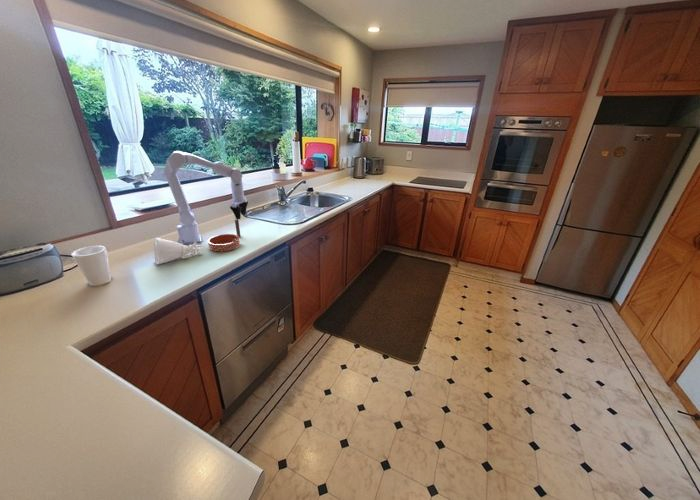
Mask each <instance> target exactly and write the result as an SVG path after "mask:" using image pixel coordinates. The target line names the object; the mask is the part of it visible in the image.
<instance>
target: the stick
mask: <svg viewBox="0 0 700 500" xmlns="http://www.w3.org/2000/svg"><path fill="white" fill-rule="evenodd" d="M239 222H240V221H239V219H236V218H235V219H234V224H235V232H236V235H237V236H238V237H239V238H241V237H242V236H241V229H240V223H239Z"/></svg>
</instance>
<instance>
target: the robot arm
mask: <svg viewBox="0 0 700 500" xmlns="http://www.w3.org/2000/svg"><path fill="white" fill-rule="evenodd" d="M186 164H187V165H188V166H189V165H194V164H195V165H198V166H201V167H204V168H207V169H211V170H212V171H213V173H214V174H216V175H219V176H223V177H226V178H230V189H231V193H232V194H231V196H232V202H231V205H230V206H229V208H230V210H231V211H232V212H233V215H234V217H235V219H238V220H241V219H242V218H241V217H242V216H246V215H247V214H246V213H247V208H248V204H249V200H247V197H246V196H245V192H244V185H243V179H242V178H243V173H242V172H241V170H240V169H239V168H237V167H236V166H235V167H234V166H233V165H228V164H225V163H224V162H223V161H221V160H220V161H215V162H212V161H210V160H208V159H205V158H203V157H200V156H197V155H195V154H192V153H189V152H184V151H182V150H174V151H173V152H172V153H171V154H170V155H169V156H168V158H167V159H166V162H165V165H164V169H163V173H164V177H165V178H166V181H167V183H168V186H169V188H170V191H171V194H172V196H173V199H174V201H175V203H176V207H177V210H178V214H179V222H180V224H179V225H176V230H177V233H178V241H179V243H180V244H183V245H188V244H194V242H197V243H200V242H202V238H201V235H200V232H199V226H198V222H197V221H196V220H195V219H196V214H195V212H194V211H193V210H192V209H191V206H190V205H189V203H188V202H189V201H188V200H187V198H186V195H185V192H184V190H183V186H182V184H181V182H180V179H179V176H178V171H179V170H180V169H181V168H183V167H184V166H185V165H186Z"/></svg>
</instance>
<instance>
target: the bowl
mask: <svg viewBox="0 0 700 500" xmlns="http://www.w3.org/2000/svg"><path fill="white" fill-rule="evenodd" d="M207 244H208V248H209V250H210V251H213V252H221V253H222V252H228V251H229V252H230V251H232V250H235V249H237V248H238V247H239V246H241V245H240V244H241V241H240V237H238V236H237V234H233V233H223V234H217V235H214V236H211V237H209V239H208V240H207Z"/></svg>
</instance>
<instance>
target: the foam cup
mask: <svg viewBox="0 0 700 500" xmlns="http://www.w3.org/2000/svg"><path fill="white" fill-rule="evenodd" d="M70 255H71V257H72V259H73V261H74V262H75V263H76V265H77V267H78V269H79V270H80V271H81V273H82V275H83V276H84V278H85V280H86V281H87V282H88V284H89V285H90V286H92V287H98V286H102V285H105V284H108V283H110V282H111V281H112V276H111V269H110V264H109V263H110V262H109V257H108V250H107V247H105V246H104V245H91V246H89V245H88V246H84V247H80V248H77V249H76V250H74V251H72V252H70Z"/></svg>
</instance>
